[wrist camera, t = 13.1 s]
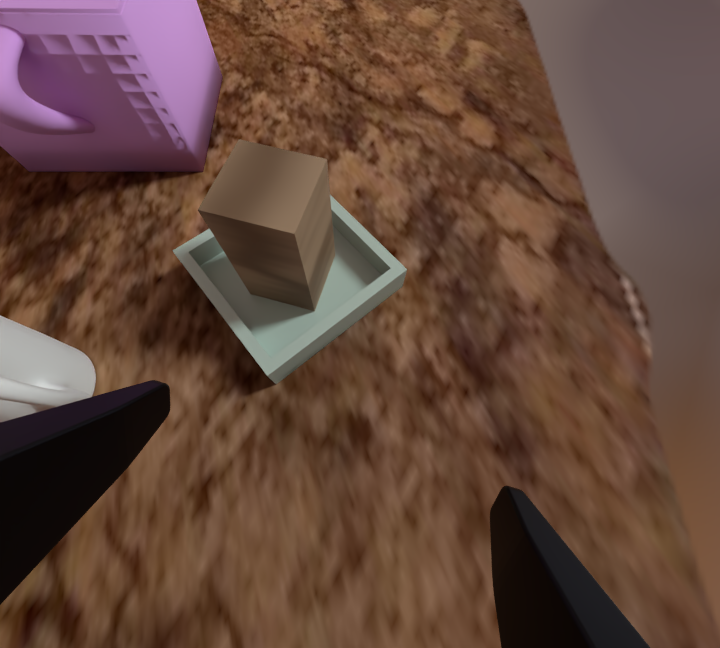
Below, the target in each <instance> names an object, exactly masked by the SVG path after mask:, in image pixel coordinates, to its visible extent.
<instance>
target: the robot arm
mask: <svg viewBox="0 0 720 648" xmlns="http://www.w3.org/2000/svg"><path fill="white" fill-rule="evenodd" d="M169 411H170V388H169V386H168V385H167V384H166V383H162V382H159V381H155V380H152V381H148V382H144V383H140V384H137V385H133V386H130V387H126V388H122V389H119V390H115V391H112V392H108V393H105V394H101V395H97V396H94V397H90V398H87V399H83V400H79V401H76V402H72V403H69V404H65V405H61V406H58V407H54V408H51V409H47V410H43V411H40V412H36V413H33V414H29V415H25V416H22V417H18V418H15V419H11V420H7V421H4V422H0V604H1V603H2V602H3V601H4V600H5V599H6V598H7V597H8V596H9V595H10V594H11V593H12V592H13V590H14V589H15V588H16V587H17V586H18V585H19V584H20V583H21V582H22V581H23V580H24V579H25V578H26V576H27V575H28V574H29V573H30V572H31V571H32V570H33V569H34V568H35V567H36V566H37V565H38V564H39V562H40V561H41V560H42V559H43V558H44V557H45V556H46V555H47V554H48V553H49V552H50V551H51V550H52V548H53V547H54V546H55V545H56V544H57V543H58V542H59V541H60V540H61V539H62V538H63V537H64V536H65V535H66V533H67V532H68V531H69V530H70V529H71V528H72V527H73V526H74V525H75V524H76V523H77V522H78V521H79V519H80V518H81V517H82V516H83V515H84V514H85V513H86V512H87V511H88V510H89V509H90V508H91V507H92V505H93V504H94V503H95V502H96V501H97V500H98V499H99V498H100V497H101V496H102V495H103V494H104V493H105V491H106V490H107V489H108V488H109V487H110V486H111V485H112V484H113V483H114V482H115V481H116V480H117V479H118V477H119V476H120V475H121V474H122V473H123V472H124V471H125V470H126V469H127V468H128V466H129V465H130V464H131V463H132V462H133V460H134V459H135V458H136V457H137V455H138V454H139V453H140V451H141V450H142V449H143V447H144V446H145V445H146V444H147V442H148V441H149V440H150V438H151V437H152V436H153V435H154V433H155V432H156V431H157V429H158V428H159V427H160V425H161V424H162V423H163V422H164V420H165V419H166V418H167V416H168V414H169ZM490 532H491V556H492V578H493V589H494V598H495V605H496V612H497V619H498V626H499V633H500V640H501V647H502V648H650V647H649V645H648V644H647V643H646V642H645V641H644V639H643V638H642V637H641V636H640V634H639V633H638V632H637V631H636V629H635V628H634V627H633V626H632V625H631V623H630V622H629V621H628V620H627V618H626V617H625V616H624V615H623V614H622V612H621V611H620V610H619V609H618V607H617V606H616V605H615V604H614V602H613V601H612V600H611V599H610V598H609V596H608V595H607V594H606V593H605V591H604V590H603V589H602V588H601V587H600V585H599V584H598V583H597V582H596V580H595V579H594V578H593V577H592V575H591V574H590V573H589V572H588V571H587V569H586V568H585V567H584V566H583V564H582V563H581V562H580V561H579V560H578V558H577V557H576V556H575V555H574V553H573V552H572V551H571V550H570V548H569V547H568V546H567V545H566V544H565V542H564V541H563V540H562V539H561V537H560V536H559V535H558V534H557V532H556V531H555V530H554V529H553V528H552V526H551V525H550V524H549V523H548V521H547V520H546V519H545V518H544V517H543V515H542V514H541V513H540V512H539V510H538V509H537V508H536V507H535V505H534V504H533V503H532V502H531V501H530V499H529V498H528V497H527V496H526V494H525V493H524V492H523V491H522V490H520V489H516V488H513V487H510V486H504V487H503V488H502V489H501V491H500V492H499V494H498V496H497V498H496V500H495V502H494V504H493V506H492V508H491V511H490Z"/></svg>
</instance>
